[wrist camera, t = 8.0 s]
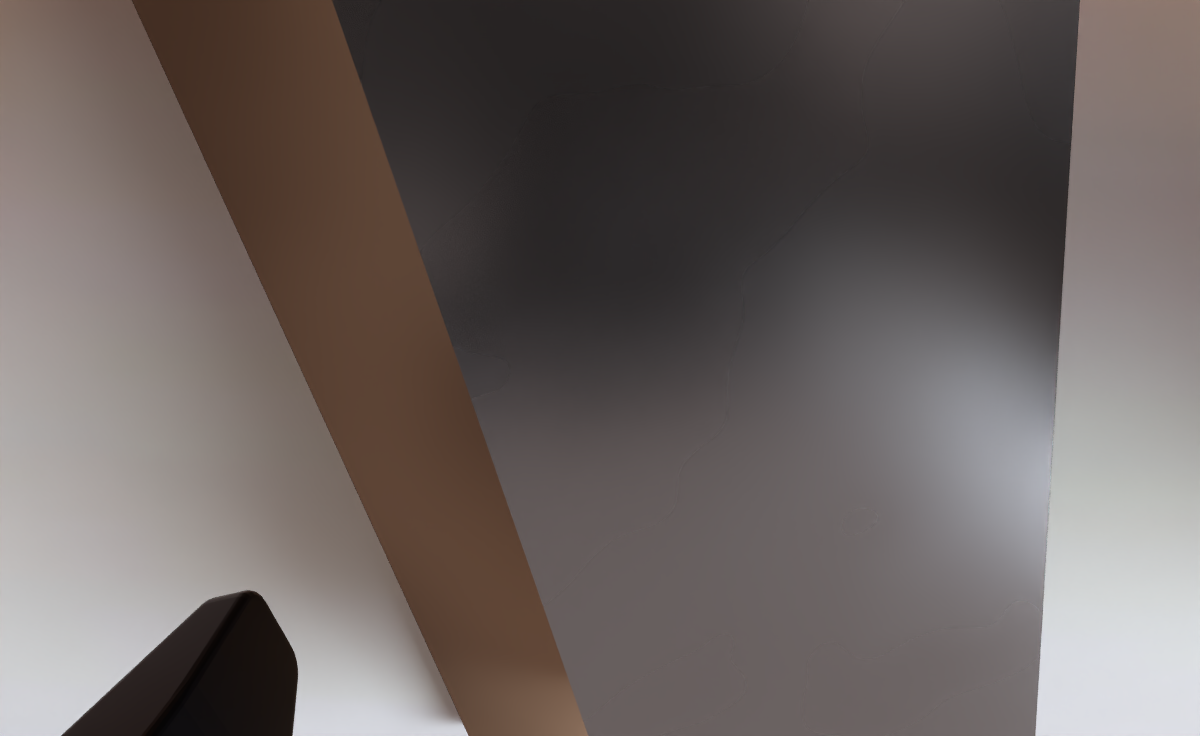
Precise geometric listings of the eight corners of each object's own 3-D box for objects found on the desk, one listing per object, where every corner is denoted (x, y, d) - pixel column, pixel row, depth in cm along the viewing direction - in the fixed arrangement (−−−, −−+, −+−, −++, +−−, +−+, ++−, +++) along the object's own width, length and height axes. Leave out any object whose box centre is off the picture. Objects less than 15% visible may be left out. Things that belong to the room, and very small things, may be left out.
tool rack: (1020, -915, 8) (1551, -1806, 4) (991, 617, 19) (1129, 827, 15) (-99, -597, 9) (-705, -1089, 4) (483, 726, 20) (471, 961, 15)
